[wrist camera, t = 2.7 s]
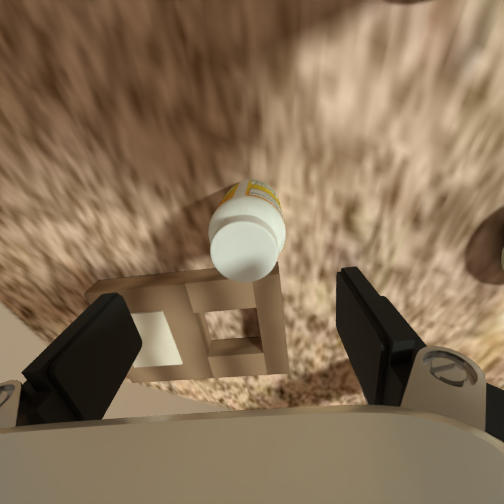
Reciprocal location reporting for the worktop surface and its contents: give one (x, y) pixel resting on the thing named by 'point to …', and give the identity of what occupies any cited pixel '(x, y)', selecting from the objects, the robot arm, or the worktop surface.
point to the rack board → (200, 324)
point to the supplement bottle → (247, 232)
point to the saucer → (502, 259)
